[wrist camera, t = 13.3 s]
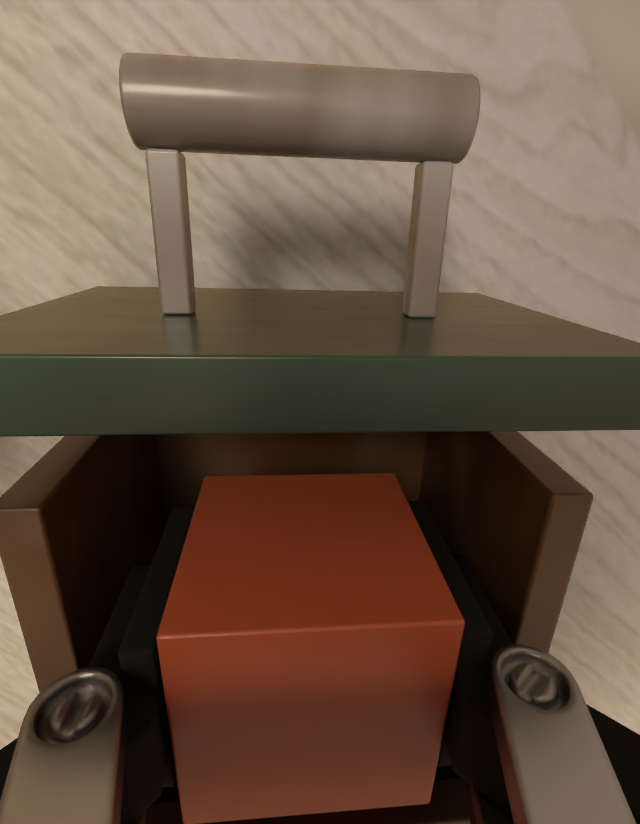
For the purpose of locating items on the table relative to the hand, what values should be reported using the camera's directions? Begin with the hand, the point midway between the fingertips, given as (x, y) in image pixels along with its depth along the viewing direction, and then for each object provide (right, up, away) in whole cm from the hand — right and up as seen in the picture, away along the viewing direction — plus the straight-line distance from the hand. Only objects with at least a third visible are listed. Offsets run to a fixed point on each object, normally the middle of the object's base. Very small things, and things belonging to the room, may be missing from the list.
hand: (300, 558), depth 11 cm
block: (0, 0, 0) cm, 0 cm away
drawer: (0, +3, +4) cm, 5 cm away
